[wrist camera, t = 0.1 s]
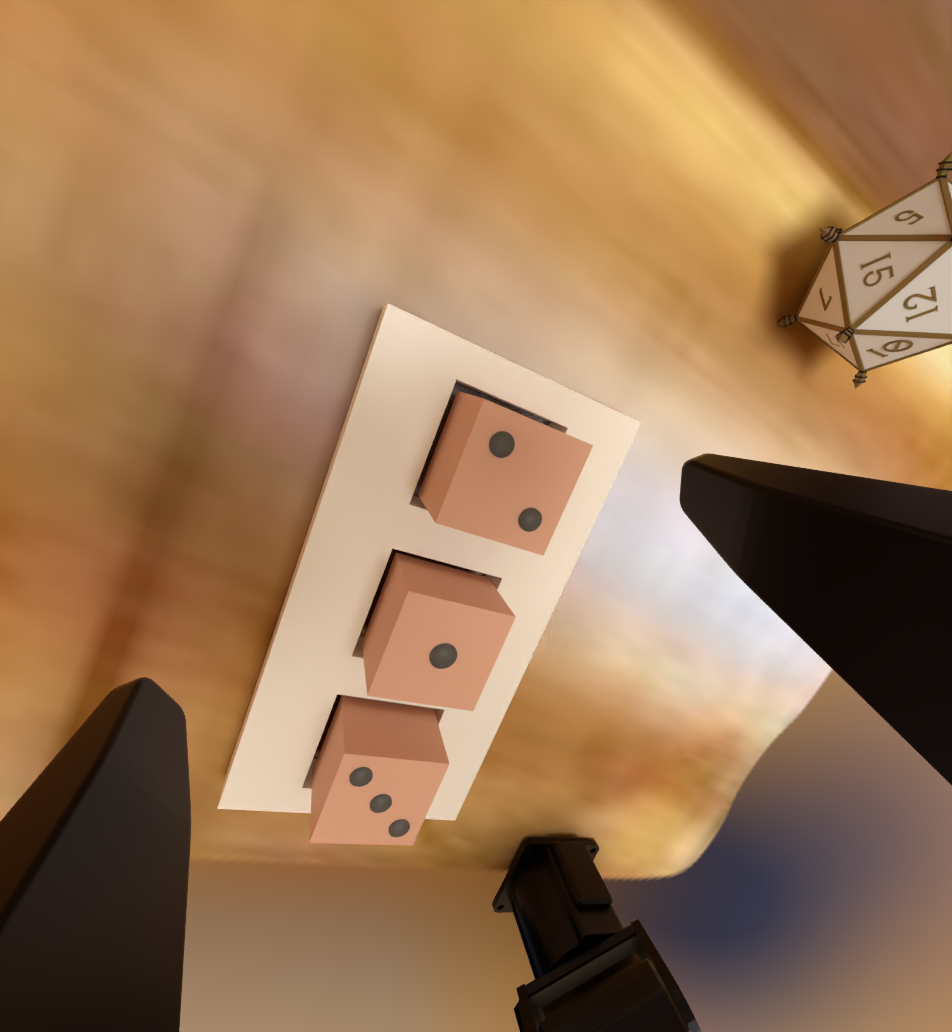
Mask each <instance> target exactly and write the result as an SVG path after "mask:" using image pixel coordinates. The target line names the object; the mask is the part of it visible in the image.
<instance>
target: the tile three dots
mask: <svg viewBox="0 0 952 1032" xmlns="http://www.w3.org/2000/svg"><path fill="white" fill-rule="evenodd" d="M448 766H449V760H448V757H447V753H446V750H445V746H444V743H443V740H442V736H441V733H440V729H439V726H438V722H437V719H436V715H435V712H434V708H429V707H422V706H415V705H408V704H401V703H394V702H387V701H381V700H374V699H367V698H360V697H353V696H346V695H341V698H340V701H339V703H338V706H337V709H336V711H335V714H334V716H333V719H332V722H331V724H330V727H329V730H328V732H327V735H326V737H325V740H324V743H323V745H322V748H321V751H320V753H319V756H318V758H317V761H316V764H315V766H314V769H313V772H312V794H311V816H310V838H309V843H334V844H372V845H411V846H413V844H414V842H415V839H416V837H417V835H418V833H419V830H420V828H421V826H422V824H423V822H424V819H425V817H426V815H427V813H428V810H429V808H430V806H431V804H432V802H433V799H434V797H435V795H436V793H437V791H438V788H439V786H440V784H441V782H442V779H443V777H444V775H445V773H446V771H447V768H448Z"/></svg>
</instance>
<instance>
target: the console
mask: <svg viewBox="0 0 952 1032" xmlns="http://www.w3.org/2000/svg"><path fill="white" fill-rule="evenodd" d="M455 382H458V383H460V384H463V385H465V386H467V387H470V388H472V389H474V390H477V391H479V392H481V393H484V394H486V395H488V396H490V397H493V398H495V399H497V400H500V401H502V402H504V403H507V404H509V405H511V406H514V407H516V408H518V409H521V410H523V411H525V412H527V413H530V414H532V415H534V416H537V417H539V418H541V419H544V420H546V421H548V422H550V423H549V427H551V428H554V429H556V430H558V431H561V432H563V433H565V434H568V435H570V436H572V437H575V438H577V439H579V440H582V441H584V442H586V443H589V444H591V445H593V447H592V449H591V452H590V454H589V456H588V458H587V460H586V463H585V465H584V467H583V469H582V472H581V474H580V476H579V478H578V480H577V483H576V485H575V487H574V489H573V491H572V494H571V496H570V498H569V500H568V503H567V505H566V507H565V509H564V511H563V514H562V516H561V518H560V520H559V522H558V525H557V527H556V529H555V531H554V534H553V536H552V538H551V540H550V542H549V545H548V547H547V549H546V551H545V554H544V556H542V555H539V554H536V553H533V552H529V551H526V550H523V549H519V548H516V547H513V546H510V545H506V544H503V543H500V542H496V541H493V540H490V539H486V538H483V537H480V536H477V535H473V534H470V533H467V532H463V531H460V530H457V529H454V528H450V527H447V526H444V525H440V524H437V523H435V522H434V520H433V518H432V517H431V515H430V513H429V512H428V510H427V509H426V507H425V505H424V504H423V502H422V500H421V499H420V498H418V497H415V496H413V493H414V490H415V488H416V485H417V483H418V480H419V477H420V475H421V472H422V469H423V467H424V464H425V461H426V459H427V456H428V453H429V451H430V448H431V446H432V443H433V440H434V438H435V435H436V432H437V430H438V427H439V424H440V422H441V419H442V417H443V414H444V411H445V409H446V406H447V403H448V401H449V398H450V395H451V393H452V390H453V387H454V385H455ZM640 424H641V423H640V422H638V421H636V420H634V419H632V418H630V417H627V416H625V415H623V414H621V413H619V412H617V411H615V410H613V409H610V408H608V407H606V406H604V405H602V404H600V403H598V402H596V401H594V400H591V399H589V398H587V397H585V396H583V395H581V394H579V393H577V392H575V391H572V390H570V389H568V388H566V387H564V386H562V385H560V384H558V383H556V382H553V381H551V380H549V379H547V378H545V377H543V376H541V375H539V374H536V373H534V372H532V371H530V370H528V369H526V368H524V367H522V366H520V365H517V364H515V363H513V362H511V361H509V360H507V359H505V358H503V357H501V356H498V355H496V354H494V353H492V352H490V351H488V350H486V349H484V348H481V347H479V346H477V345H475V344H473V343H471V342H469V341H467V340H465V339H462V338H460V337H458V336H456V335H454V334H452V333H450V332H448V331H446V330H443V329H441V328H439V327H437V326H435V325H433V324H431V323H429V322H426V321H424V320H422V319H420V318H418V317H416V316H414V315H412V314H410V313H407V312H405V311H403V310H401V309H399V308H397V307H395V306H393V305H391V304H387V305H386V306H384V307H383V309H382V312H381V315H380V318H379V321H378V324H377V327H376V330H375V333H374V336H373V339H372V342H371V345H370V348H369V351H368V354H367V357H366V360H365V363H364V366H363V369H362V371H361V374H360V377H359V380H358V383H357V386H356V389H355V392H354V395H353V398H352V401H351V404H350V407H349V410H348V413H347V416H346V419H345V422H344V425H343V428H342V431H341V434H340V437H339V440H338V443H337V446H336V449H335V452H334V455H333V458H332V461H331V464H330V467H329V470H328V473H327V476H326V479H325V482H324V485H323V487H322V490H321V493H320V496H319V499H318V502H317V505H316V508H315V511H314V514H313V517H312V520H311V523H310V526H309V529H308V532H307V535H306V538H305V541H304V544H303V547H302V550H301V553H300V556H299V559H298V562H297V565H296V568H295V571H294V574H293V577H292V580H291V583H290V586H289V589H288V592H287V595H286V598H285V601H284V603H283V606H282V609H281V612H280V615H279V618H278V621H277V624H276V627H275V630H274V633H273V636H272V639H271V642H270V645H269V648H268V651H267V654H266V657H265V660H264V663H263V666H262V669H261V672H260V675H259V678H258V681H257V684H256V687H255V690H254V693H253V696H252V699H251V702H250V705H249V708H248V711H247V714H246V717H245V719H244V722H243V725H242V728H241V731H240V734H239V737H238V740H237V743H236V746H235V749H234V752H233V755H232V758H231V761H230V764H229V767H228V770H227V773H226V776H225V780H224V784H223V788H222V792H221V796H220V800H219V804H218V808H217V809H234V810H254V811H274V812H295V813H311V794H312V772H313V769H314V766H315V764H316V761H317V759H313V757H314V754H315V752H316V749H317V746H318V744H319V741H320V739H321V736H322V733H323V731H324V728H325V725H326V723H327V720H328V717H329V715H330V712H331V710H332V707H333V704H334V702H335V699H336V696H337V694H339V695H346V696H353V697H360V698H367V699H374V700H381V701H387V702H394V703H401V704H408V705H415V706H422V707H429V708H434V712H435V715H436V719H437V722H438V726H439V729H440V733H441V736H442V740H443V743H444V746H445V750H446V753H447V757H448V760H449V766H448V768H447V771H446V773H445V775H444V777H443V779H442V782H441V784H440V786H439V788H438V791H437V793H436V795H435V797H434V799H433V802H432V804H431V806H430V808H429V810H428V813H427V815H426V817H425V819H438V820H456V817H457V815H458V813H459V811H460V809H461V807H462V805H463V803H464V800H465V798H466V796H467V794H468V792H469V790H470V788H471V785H472V783H473V781H474V779H475V777H476V775H477V773H478V770H479V768H480V766H481V764H482V762H483V760H484V758H485V756H486V753H487V751H488V749H489V747H490V745H491V743H492V741H493V738H494V736H495V734H496V732H497V730H498V728H499V726H500V723H501V721H502V719H503V717H504V715H505V713H506V711H507V709H508V706H509V704H510V702H511V700H512V698H513V696H514V694H515V691H516V689H517V687H518V685H519V683H520V681H521V679H522V676H523V674H524V672H525V670H526V668H527V666H528V664H529V662H530V659H531V657H532V655H533V653H534V651H535V649H536V647H537V644H538V642H539V640H540V638H541V636H542V634H543V632H544V629H545V627H546V625H547V623H548V621H549V619H550V617H551V615H552V612H553V610H554V608H555V606H556V604H557V602H558V600H559V597H560V595H561V593H562V591H563V589H564V587H565V585H566V583H567V580H568V578H569V576H570V574H571V572H572V570H573V568H574V565H575V563H576V561H577V559H578V557H579V555H580V553H581V550H582V548H583V546H584V544H585V542H586V540H587V538H588V536H589V533H590V531H591V529H592V527H593V525H594V523H595V521H596V518H597V516H598V514H599V512H600V510H601V508H602V506H603V503H604V501H605V499H606V497H607V495H608V493H609V491H610V489H611V486H612V484H613V482H614V480H615V478H616V476H617V474H618V471H619V469H620V467H621V465H622V463H623V461H624V459H625V456H626V454H627V452H628V450H629V448H630V446H631V444H632V442H633V439H634V437H635V435H636V433H637V431H638V429H639V427H640ZM392 549H396V550H400V551H404V552H407V553H411V554H415V555H418V556H422V557H426V558H430V559H433V560H437V561H441V562H444V563H448V564H452V565H455V566H459V567H463V568H466V569H470V570H474V571H477V572H481V573H485V575H484V576H485V577H488V578H489V579H490V581H491V582H492V584H493V585H494V586H495V588H496V589H497V591H498V592H499V594H500V595H501V596H502V598H503V599H504V601H505V602H506V604H507V605H508V606H509V608H510V609H511V611H512V612H513V614H514V615H515V616H516V618H515V620H514V622H513V624H512V627H511V629H510V631H509V633H508V635H507V638H506V640H505V642H504V644H503V647H502V649H501V651H500V653H499V655H498V658H497V660H496V662H495V664H494V666H493V669H492V671H491V673H490V675H489V678H488V680H487V682H486V684H485V686H484V689H483V691H482V693H481V695H480V698H479V700H478V702H477V704H476V706H475V709H474V711H468V710H461V709H454V708H447V707H440V706H434V705H427V704H420V703H413V702H406V701H399V700H393V699H386V698H379V697H372V696H367V688H366V679H365V669H364V660H363V650H362V640H363V638H364V636H360V633H361V630H362V628H363V625H364V622H365V620H366V617H367V614H368V612H369V609H370V607H371V604H372V601H373V599H374V596H375V593H376V591H377V588H378V585H379V583H380V580H381V578H382V575H383V572H384V570H385V567H386V564H387V562H388V559H389V556H390V554H391V551H392Z"/></svg>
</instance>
